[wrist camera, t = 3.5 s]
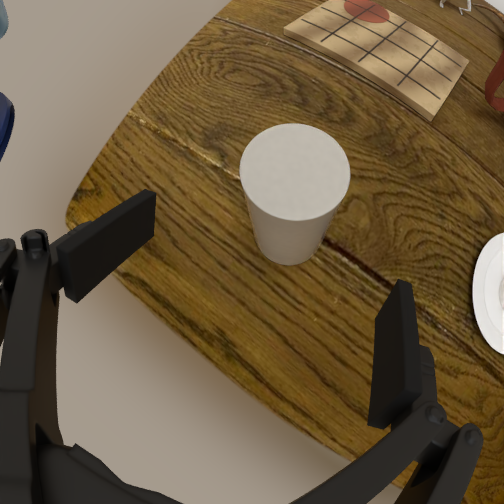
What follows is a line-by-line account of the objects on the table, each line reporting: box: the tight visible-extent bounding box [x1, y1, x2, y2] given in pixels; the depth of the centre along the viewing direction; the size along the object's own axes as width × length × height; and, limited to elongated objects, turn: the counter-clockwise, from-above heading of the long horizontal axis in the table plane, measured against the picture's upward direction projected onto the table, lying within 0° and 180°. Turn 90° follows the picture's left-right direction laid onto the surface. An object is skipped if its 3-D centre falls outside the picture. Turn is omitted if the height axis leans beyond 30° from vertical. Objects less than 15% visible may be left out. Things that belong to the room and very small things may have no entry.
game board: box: [284, 0, 469, 122], centre depth 30 cm, size 20×15×1 cm
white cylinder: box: [240, 124, 350, 265], centre depth 21 cm, size 6×6×11 cm
